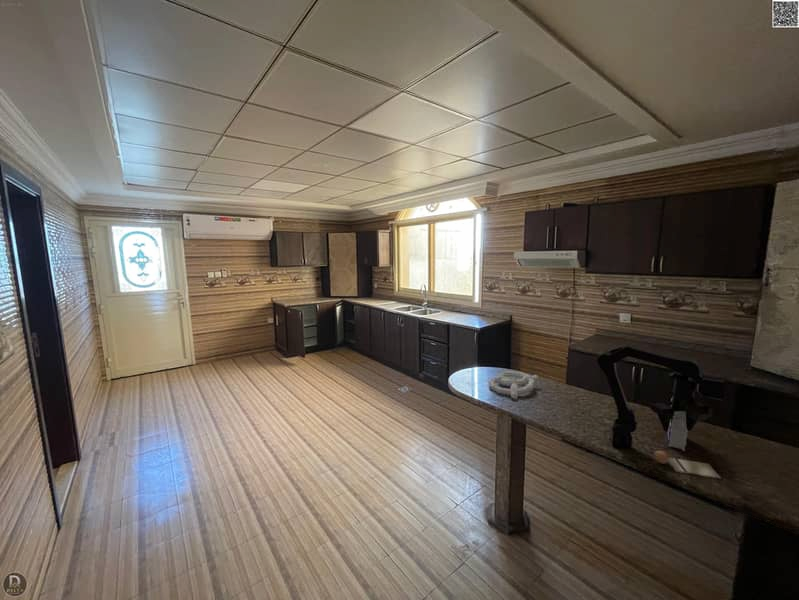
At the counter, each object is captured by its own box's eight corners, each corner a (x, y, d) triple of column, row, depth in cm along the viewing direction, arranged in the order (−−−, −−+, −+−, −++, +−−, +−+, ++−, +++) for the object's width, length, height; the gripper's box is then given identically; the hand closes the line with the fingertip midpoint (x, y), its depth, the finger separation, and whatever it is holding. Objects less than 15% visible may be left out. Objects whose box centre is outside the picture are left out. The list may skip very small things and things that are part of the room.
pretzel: (520, 405, 173) (519, 394, 172) (482, 392, 191) (481, 382, 189) (544, 384, 191) (544, 374, 189) (507, 374, 208) (507, 365, 207)
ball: (655, 464, 122) (657, 454, 121) (651, 457, 126) (652, 447, 125) (670, 467, 121) (671, 456, 120) (665, 460, 125) (666, 449, 124)
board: (675, 471, 118) (675, 469, 118) (666, 458, 126) (666, 456, 126) (720, 479, 114) (721, 477, 114) (708, 465, 121) (708, 463, 121)
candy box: (667, 431, 144) (671, 396, 141) (684, 436, 140) (689, 400, 138) (667, 446, 133) (671, 408, 131) (686, 451, 130) (691, 413, 127)
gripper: (679, 402, 111) (673, 444, 114) (730, 401, 113) (722, 442, 115) (652, 388, 122) (647, 426, 125) (699, 387, 124) (692, 425, 126)
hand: (677, 430), depth 122 cm, fingers open, 9 cm apart
